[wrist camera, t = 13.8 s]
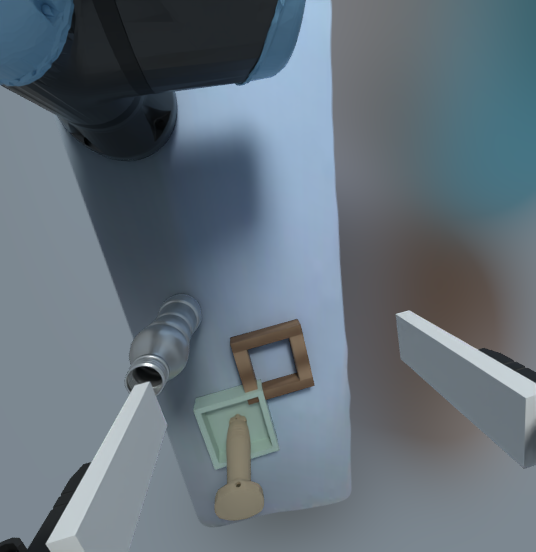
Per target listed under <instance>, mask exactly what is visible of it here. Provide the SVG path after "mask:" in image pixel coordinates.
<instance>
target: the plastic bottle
mask: <svg viewBox="0 0 536 552" xmlns="http://www.w3.org/2000/svg"><path fill="white" fill-rule="evenodd" d="M201 319H202V313H201V308H200V305H199V303H198V302H197V301H196V300H195V299H194V298H193V297H191V296H189V295H186V294H177V295H174V296H171V297H170V298H168V299H166V300H165V301H164V302H163V304H162V305H161V307H160V310H159V312H158V316H157V318H156V319H155V321H154V322H153V323H152V324H150V325H149V326H147V327H146V328H145V329H143V330H142V331H141V332H140V333H139V334H138V335H137V336H136V337H135V338H134V340H133V342H132V344H131V348H130V353H129V360H130V364H131V366H130V369H129V371H128V372H127V374H126V377H125V387H126V389H127V391H128V392H129V393H131V391H132V389H133V388H134V386H135V385H138V384H142V383H146V382H149V381H150V383H151V385H152V388H153V390H154V393H155V395H156V396H158V395H159V394H160V393H161V391H162V390H163V388H164V386H165V384H166V383H167V381H169V380H171V379H173V378H174V377H176V376H177V375H178V374H179V373H180V372H181V371H182V370H183V369H184V367H185V366H186V364H187V361H188V357H189V345H190V339H191V336H192V334H193V333H194V332H195V331H196V329H197V328H198V327H199V325H200V323H201Z"/></svg>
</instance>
